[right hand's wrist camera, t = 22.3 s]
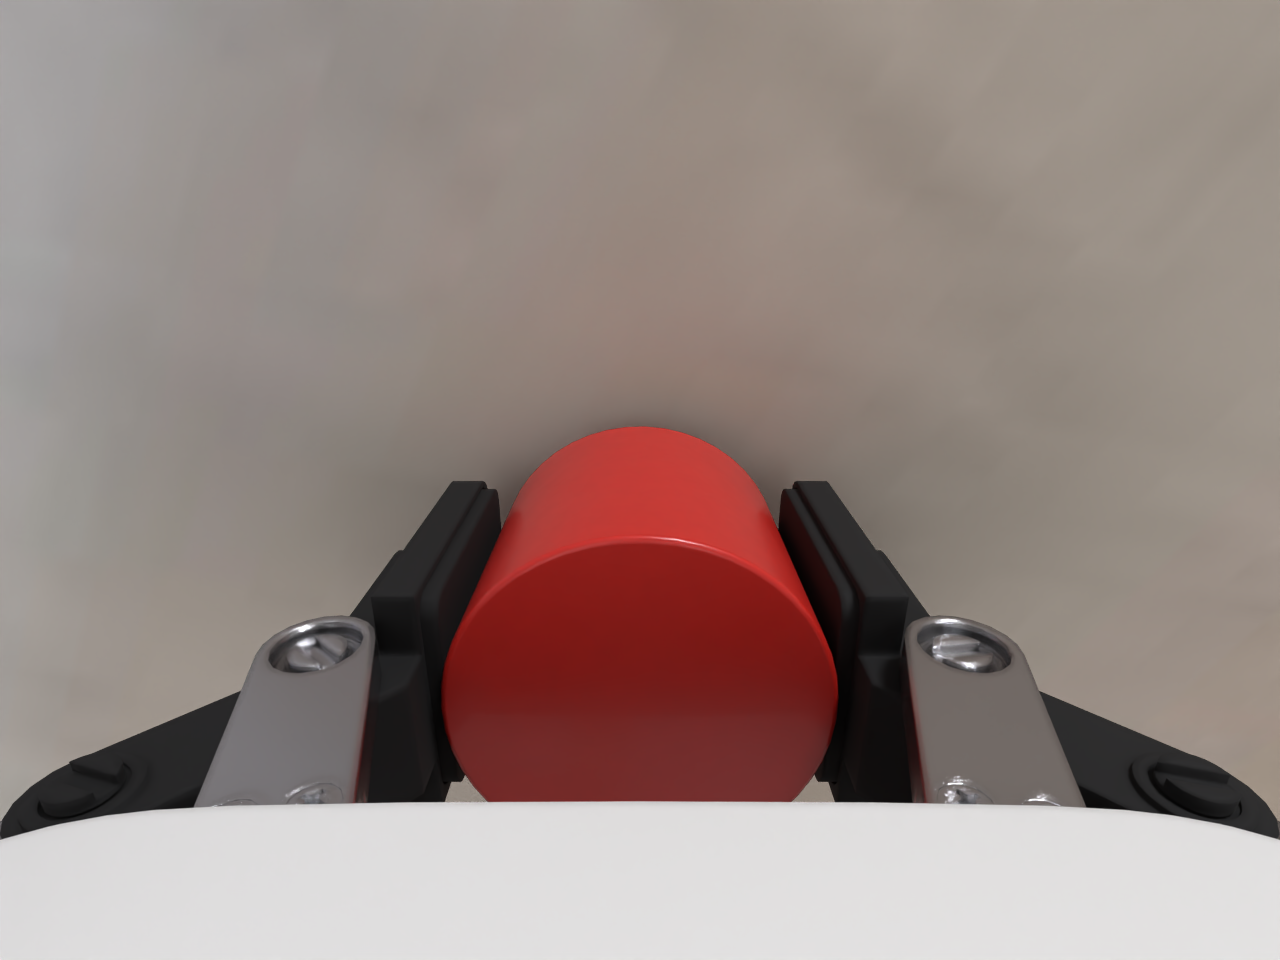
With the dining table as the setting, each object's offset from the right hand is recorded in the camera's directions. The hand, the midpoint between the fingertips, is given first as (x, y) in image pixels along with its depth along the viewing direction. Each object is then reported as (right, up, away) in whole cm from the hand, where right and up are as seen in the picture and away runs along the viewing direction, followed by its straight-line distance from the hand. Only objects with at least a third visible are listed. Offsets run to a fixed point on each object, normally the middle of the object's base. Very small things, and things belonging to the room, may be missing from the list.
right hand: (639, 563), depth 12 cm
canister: (0, 0, 0) cm, 0 cm away
